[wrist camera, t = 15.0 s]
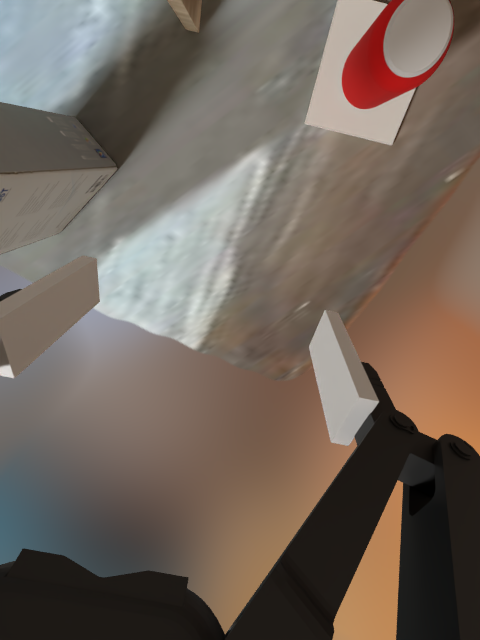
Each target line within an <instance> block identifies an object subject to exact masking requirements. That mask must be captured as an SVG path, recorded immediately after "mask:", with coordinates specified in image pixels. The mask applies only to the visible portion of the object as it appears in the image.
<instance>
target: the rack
mask: <svg viewBox="0 0 480 640" xmlns="http://www.w3.org/2000/svg"><path fill="white" fill-rule="evenodd" d="M167 1H168V2H169V4H170V6H171V7H172V9H173V10H174V12H175V13H176V15H177V17H178V18H179V20H180V21H181V23H182V24H183V26H184V28H185V29H186V30H189V31H193V32H197V33H199V28H200V17H201V6H202V0H167Z"/></svg>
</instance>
